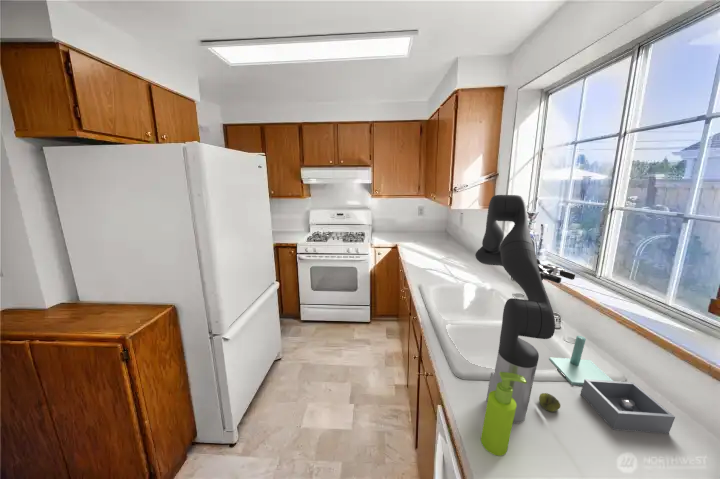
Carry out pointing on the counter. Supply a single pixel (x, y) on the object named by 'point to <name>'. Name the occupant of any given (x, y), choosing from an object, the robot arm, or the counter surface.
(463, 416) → the counter surface
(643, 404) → the tub
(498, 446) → the soap dispenser
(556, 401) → the lime
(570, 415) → the counter surface
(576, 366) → the lid
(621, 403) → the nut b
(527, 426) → the counter surface
